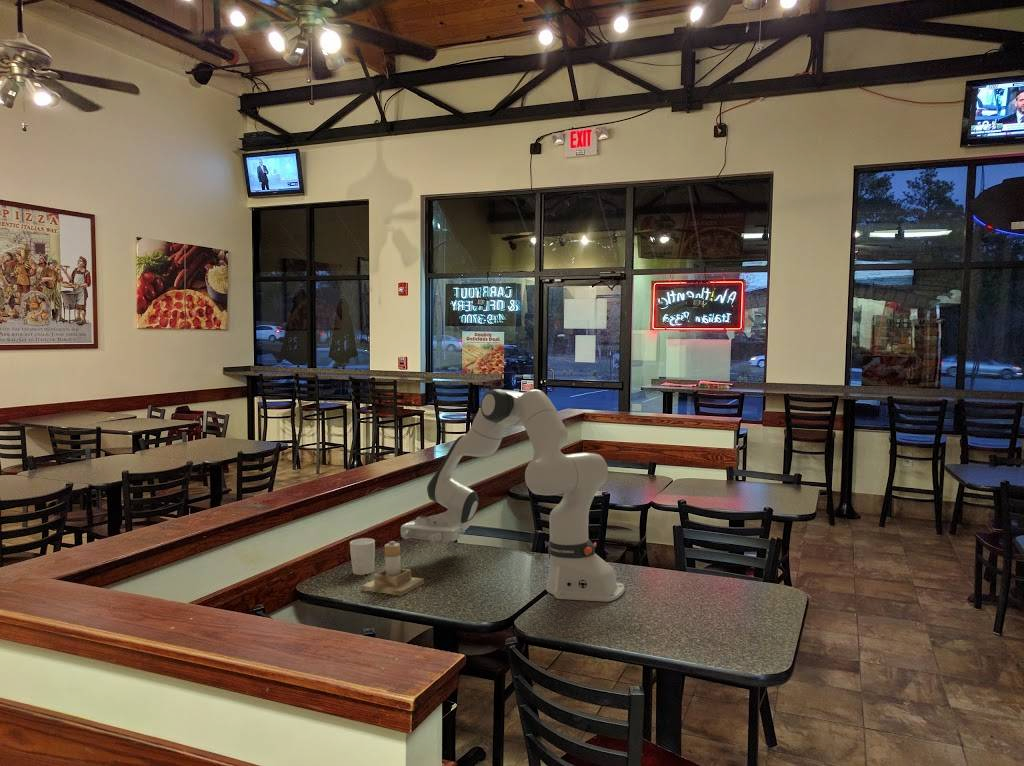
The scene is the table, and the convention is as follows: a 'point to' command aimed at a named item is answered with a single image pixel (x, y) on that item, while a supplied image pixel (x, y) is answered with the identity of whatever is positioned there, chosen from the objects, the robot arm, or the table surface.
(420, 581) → the charging dock
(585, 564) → the robot arm
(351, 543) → the white cup
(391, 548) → the battery cell
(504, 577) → the table surface
